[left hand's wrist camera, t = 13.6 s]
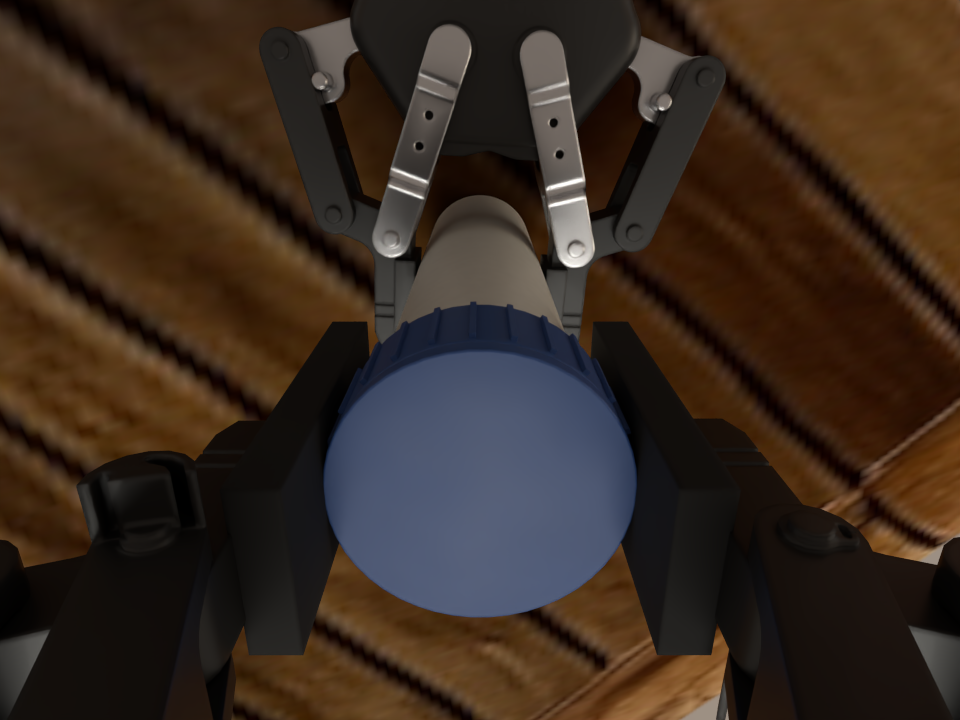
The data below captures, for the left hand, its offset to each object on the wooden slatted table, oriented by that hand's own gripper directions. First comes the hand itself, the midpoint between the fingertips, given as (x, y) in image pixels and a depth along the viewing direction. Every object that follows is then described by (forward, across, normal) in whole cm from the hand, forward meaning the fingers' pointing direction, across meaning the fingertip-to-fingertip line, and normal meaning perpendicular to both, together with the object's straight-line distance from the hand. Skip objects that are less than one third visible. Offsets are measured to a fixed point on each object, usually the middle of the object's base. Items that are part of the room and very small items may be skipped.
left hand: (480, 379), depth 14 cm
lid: (-4, 0, 0) cm, 4 cm away
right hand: (+8, 0, -3) cm, 9 cm away
